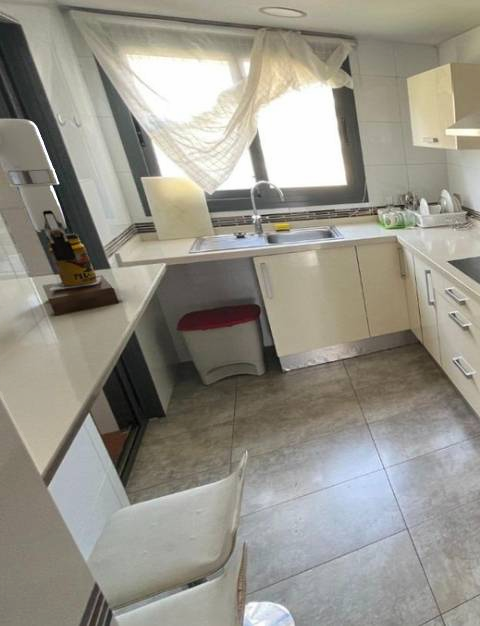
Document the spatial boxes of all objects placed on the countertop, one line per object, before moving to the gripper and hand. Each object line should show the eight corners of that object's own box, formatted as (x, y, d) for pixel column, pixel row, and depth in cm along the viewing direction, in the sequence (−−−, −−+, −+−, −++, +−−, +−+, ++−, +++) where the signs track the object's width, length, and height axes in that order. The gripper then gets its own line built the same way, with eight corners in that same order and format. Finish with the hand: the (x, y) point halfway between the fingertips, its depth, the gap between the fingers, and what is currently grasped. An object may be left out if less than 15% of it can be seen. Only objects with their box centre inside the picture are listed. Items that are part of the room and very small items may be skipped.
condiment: (98, 284, 111) (79, 234, 107) (48, 291, 106) (26, 240, 102) (101, 278, 116) (83, 230, 112) (54, 284, 111) (33, 235, 107)
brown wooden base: (55, 315, 104) (47, 299, 102) (48, 300, 114) (42, 285, 112) (119, 302, 112) (113, 287, 110) (108, 289, 121) (102, 275, 120)
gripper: (6, 178, 104) (39, 254, 111) (9, 182, 94) (45, 266, 101) (53, 175, 110) (82, 249, 116) (60, 179, 99) (92, 260, 106)
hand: (64, 256), depth 108 cm, fingers closed on condiment, 6 cm apart
